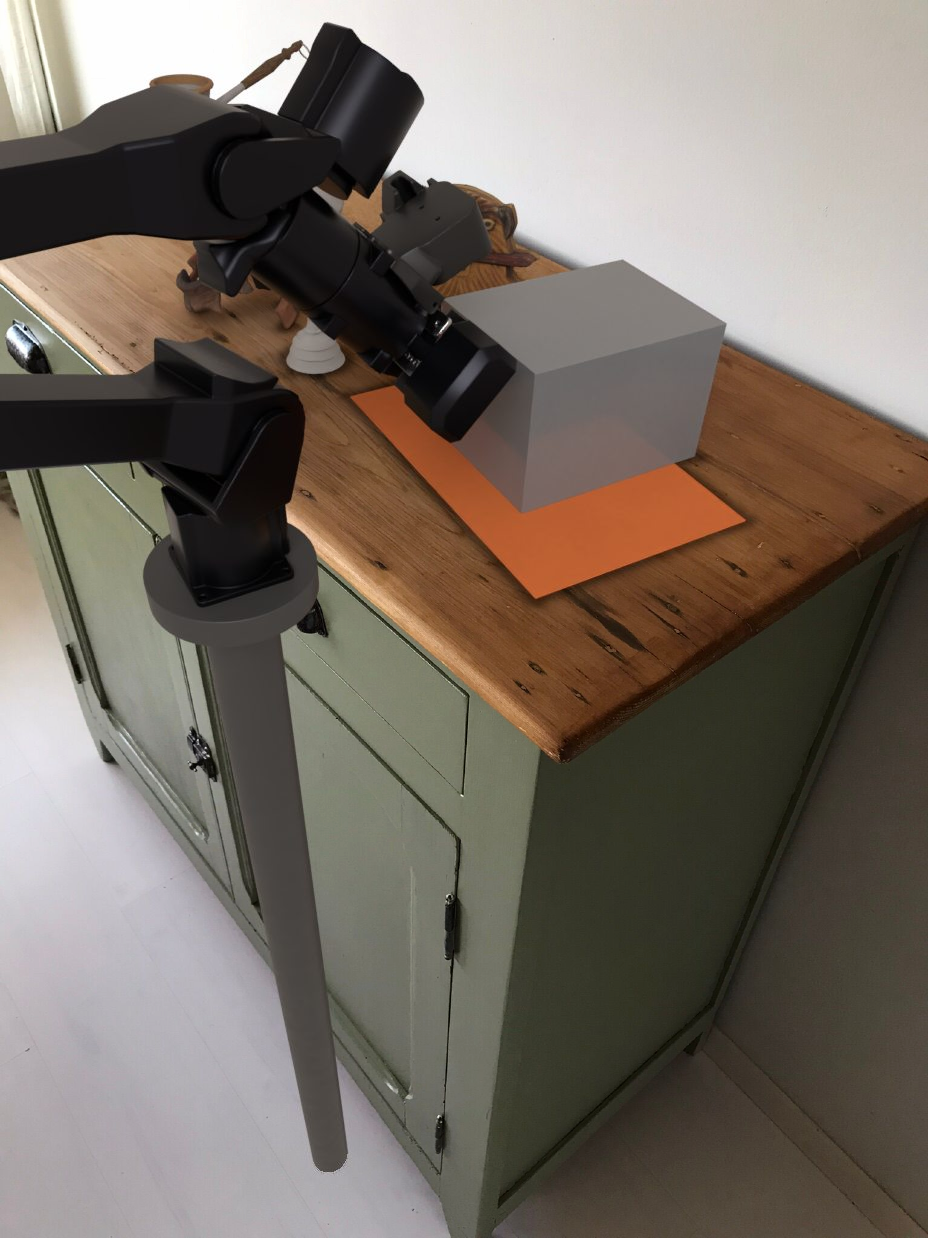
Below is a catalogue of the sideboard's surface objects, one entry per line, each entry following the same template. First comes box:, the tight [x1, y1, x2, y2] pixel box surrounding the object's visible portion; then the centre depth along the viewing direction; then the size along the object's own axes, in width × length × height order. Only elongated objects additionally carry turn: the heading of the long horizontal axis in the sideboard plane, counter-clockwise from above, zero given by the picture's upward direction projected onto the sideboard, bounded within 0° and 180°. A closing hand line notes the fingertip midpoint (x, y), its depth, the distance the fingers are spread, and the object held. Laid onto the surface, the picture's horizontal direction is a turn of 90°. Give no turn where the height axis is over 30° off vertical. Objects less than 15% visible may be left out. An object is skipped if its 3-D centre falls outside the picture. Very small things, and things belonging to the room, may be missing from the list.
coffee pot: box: [148, 39, 310, 104], centre depth 104 cm, size 21×12×15 cm, turn 131°
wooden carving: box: [421, 183, 541, 298], centre depth 90 cm, size 16×5×10 cm, turn 75°
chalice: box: [285, 186, 346, 375], centre depth 77 cm, size 7×7×18 cm
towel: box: [350, 384, 746, 600], centre depth 74 cm, size 18×28×1 cm, turn 30°
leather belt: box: [175, 251, 299, 330], centre depth 87 cm, size 12×10×8 cm
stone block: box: [441, 258, 728, 514], centre depth 71 cm, size 16×12×11 cm
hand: (478, 391), depth 67 cm, fingers closed, pressing on stone block
